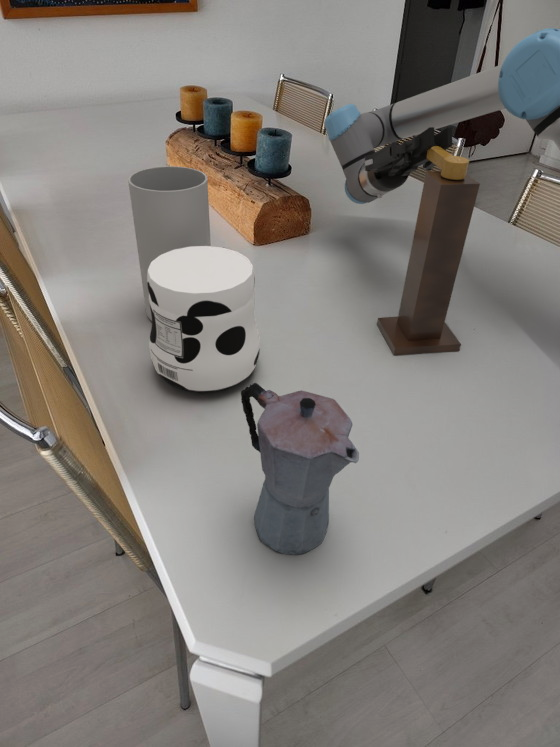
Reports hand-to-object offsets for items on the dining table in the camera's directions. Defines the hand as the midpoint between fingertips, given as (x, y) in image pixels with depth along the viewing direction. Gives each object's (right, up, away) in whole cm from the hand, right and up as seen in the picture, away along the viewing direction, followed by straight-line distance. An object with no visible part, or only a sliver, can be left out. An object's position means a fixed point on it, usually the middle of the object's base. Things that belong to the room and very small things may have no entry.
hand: (440, 136), depth 83 cm
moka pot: (-24, -54, -18) cm, 62 cm away
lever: (0, -3, +2) cm, 4 cm away
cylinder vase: (-43, -25, +19) cm, 54 cm away
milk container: (-37, -36, +6) cm, 51 cm away
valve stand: (0, -30, +15) cm, 33 cm away
